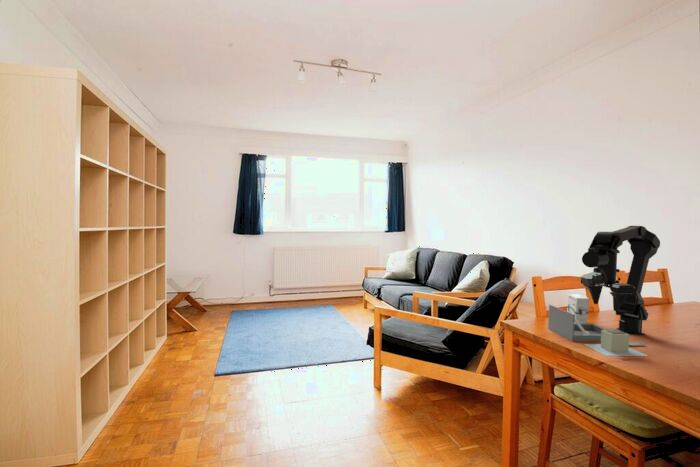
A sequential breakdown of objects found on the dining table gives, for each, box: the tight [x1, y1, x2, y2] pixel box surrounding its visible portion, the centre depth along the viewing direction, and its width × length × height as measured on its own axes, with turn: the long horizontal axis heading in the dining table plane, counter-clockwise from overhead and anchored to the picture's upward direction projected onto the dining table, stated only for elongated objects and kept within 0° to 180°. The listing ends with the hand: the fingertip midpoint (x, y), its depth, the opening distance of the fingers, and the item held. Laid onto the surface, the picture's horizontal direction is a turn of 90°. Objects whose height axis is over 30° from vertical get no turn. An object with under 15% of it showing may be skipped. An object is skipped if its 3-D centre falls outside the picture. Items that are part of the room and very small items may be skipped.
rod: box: [629, 341, 647, 347], centre depth 118 cm, size 8×1×1 cm, turn 91°
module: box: [600, 329, 630, 352], centre depth 114 cm, size 6×4×6 cm
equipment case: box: [547, 304, 608, 342], centre depth 129 cm, size 18×14×10 cm
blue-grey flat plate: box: [583, 343, 648, 357], centre depth 114 cm, size 14×10×1 cm
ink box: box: [566, 293, 590, 324], centre depth 145 cm, size 9×5×12 cm, turn 168°
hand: (605, 307), depth 125 cm, fingers open, 9 cm apart
